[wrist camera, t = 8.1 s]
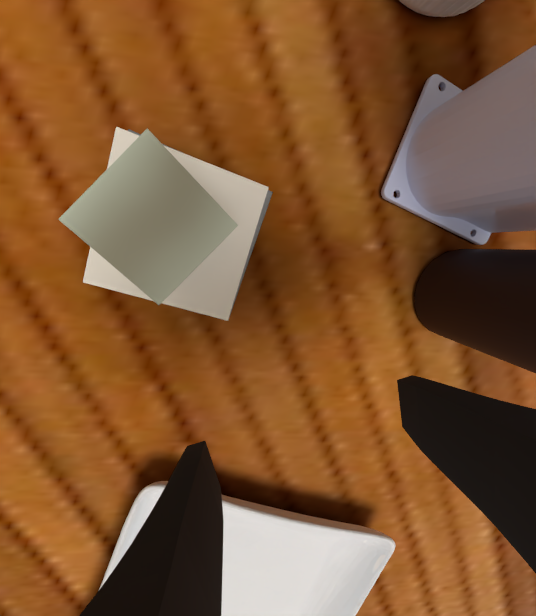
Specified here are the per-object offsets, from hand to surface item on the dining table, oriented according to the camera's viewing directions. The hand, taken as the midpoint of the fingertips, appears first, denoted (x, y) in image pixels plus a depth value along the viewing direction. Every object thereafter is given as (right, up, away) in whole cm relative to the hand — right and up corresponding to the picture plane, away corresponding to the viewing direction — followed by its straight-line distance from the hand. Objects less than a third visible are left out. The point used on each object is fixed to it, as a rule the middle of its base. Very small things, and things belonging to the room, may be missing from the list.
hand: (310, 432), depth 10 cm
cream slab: (-6, +8, +6) cm, 12 cm away
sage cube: (-6, +8, +3) cm, 11 cm away
